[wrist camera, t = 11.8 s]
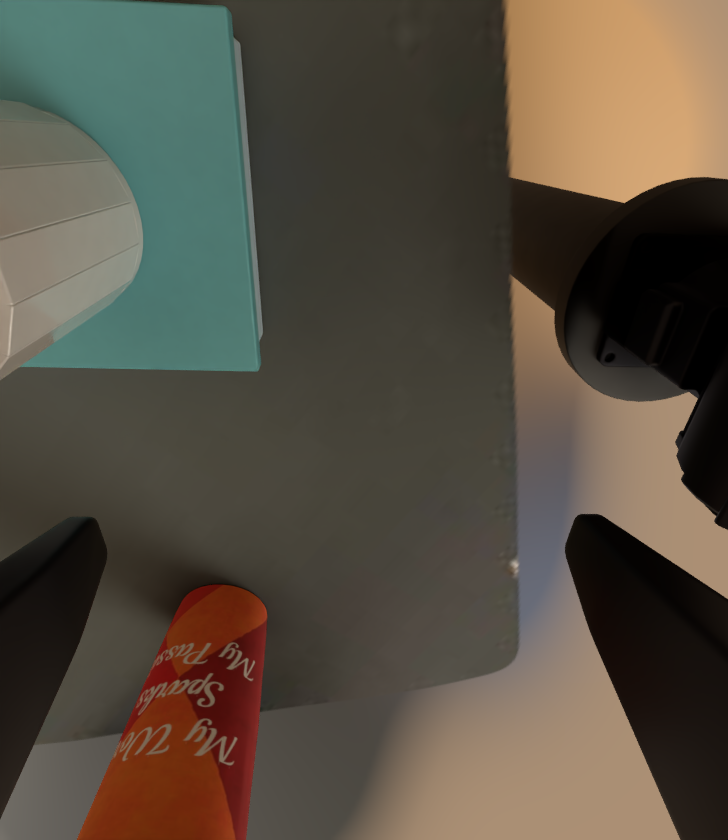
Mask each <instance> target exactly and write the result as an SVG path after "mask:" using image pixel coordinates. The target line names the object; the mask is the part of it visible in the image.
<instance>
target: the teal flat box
mask: <svg viewBox="0 0 728 840" xmlns="http://www.w3.org/2000/svg"><path fill="white" fill-rule="evenodd" d="M0 100H8V101H16V102H21V103H25V104H27V105H31V106H34V107H38V108H41V109H44V110H46V111H49V112H51V113H54V114H56V115H58V116H60V117H61V118H63V119H65V120H67V121H69V122H70V123H72V124H73V125H75V126H76V127H78V128H79V129H81V130H82V131H83V132H85V133H86V134H87V135H88V136H89V137H90V138H92V139H93V140H94V141H95V142H96V143H97V144H98V145H99V146H100V147H101V148H102V149H103V150H104V151H105V152H106V153H107V154H108V156H109V157H110V158H111V159H112V161H113V162H114V163H115V164H116V166H117V167H118V169H119V170H120V172H121V173H122V175H123V176H124V178H125V180H126V181H127V183H128V185H129V187H130V189H131V191H132V193H133V196H134V198H135V201H136V204H137V206H138V210H139V214H140V218H141V222H142V230H143V251H142V258H141V262H140V265H139V269H138V271H137V273H136V275H135V277H134V279H133V281H132V282H131V284H130V285H129V287H128V288H127V289H126V290H125V291H124V292H123V293H122V294H121V295H120V296H118V297H117V298H116V299H115V300H114V302H113V303H111V304H110V305H109V306H107V307H106V308H104V309H103V310H101V311H100V312H98V313H97V314H95V315H94V316H93V317H91V318H90V319H88V320H87V321H85V322H84V323H82V324H81V325H79V326H78V327H77V328H75V329H74V330H72V331H71V332H69V333H68V334H66V335H65V336H63V337H62V338H61V339H59V340H58V341H56V342H55V343H53V344H52V345H50V346H49V347H48V348H46V349H45V350H43V351H42V352H40V353H39V354H37V355H36V356H34V357H33V358H32V359H30V360H29V361H27V362H26V363H24V364H23V365H21V366H20V367H64V368H113V369H163V370H212V371H258V370H259V368H260V365H261V357H260V345H259V341H260V339H261V336H262V334H263V325H262V312H261V300H260V287H259V274H258V262H257V249H256V237H255V224H254V211H253V199H252V186H251V173H250V161H249V148H248V136H247V123H246V110H245V98H244V85H243V72H242V60H241V47H240V43H239V42H238V41H237V40H236V39H235V38H234V37H233V26H232V15H231V12H230V11H229V10H228V9H227V7H225V6H223V5H205V4H187V3H168V2H150V1H132V0H0Z"/></svg>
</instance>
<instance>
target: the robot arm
mask: <svg viewBox="0 0 728 840" xmlns="http://www.w3.org/2000/svg"><path fill="white" fill-rule="evenodd" d="M645 241H648V245H647V247H646V248H645V249H644V250H642V249H641V247H642V244H643V243H644V242H645ZM603 331H604V334H603V337H602V340H601V343H600V346H599V349H598V352H597V361H598V362H599V363H601V364H602V365H603V366H606V367H646V368H654V369H655V370H656V371H658V372H659V373H660V374H662V375H663V376H664V377H666V378H667V379H668V380H670V381H671V382H672V383H674V384H675V385H676V386H678V387H679V388H681V389H683V390H687V391H689V392H690V393H691V394H693V395H694V396H695V397H697V398H698V400H697V402H696V405H695V407H694V409H693V411H692V413H691V415H690V417H689V420H688V422H687V424H686V426H685V428H684V430H683V431H680V433H679V435H678V437H677V439H676V441H675V443H676V445H677V447H678V453H677V458H678V461H679V464H680V467H681V469H682V471H683V472H684V475H683V476H682V478H681V480H682V482H683V484H684V485H685V486H686V487H687V489H688V490H689V491H690V492H691V493H692V494H693V495H694V496H695V497H696V498H697V499H698V500H700V501H701V502H702V503H704V504H705V506H706V507H707V508H708V509H709V510H710V511H711V512H712V513H713V514H714V515H716V518H715V523H716V524H717V525H718V526H721V527H723V528H725V529H727V530H728V236H721V235H692V234H663V233H643V234H640V235H639V236H637V237H636V238H635V239H634V241H633V243H632V245H631V248H630V252H629V255H628V258H627V261H626V264H625V267H624V270H623V274H622V277H621V279H620V280H619V281H618V282H617V285H616V288H615V291H614V295H613V298H612V301H611V304H610V307H609V310H608V314H607V317H606V320H605V323H604V326H603ZM610 353H611V356H610V357H609V358H608V359H605V357H606V355H608V354H610ZM565 554H566V559H567V562H568V565H569V568H570V571H571V574H572V577H573V581H574V584H575V587H576V590H577V593H578V596H579V599H580V602H581V605H582V609H583V612H584V615H585V618H586V621H587V624H588V627H589V630H590V632H591V635H592V637H593V640H594V642H595V645H596V647H597V649H598V652H599V654H600V656H601V658H602V661H603V663H604V665H605V668H606V670H607V672H608V675H609V677H610V679H611V681H612V684H613V686H614V688H615V691H616V693H617V695H618V697H619V700H620V702H621V704H622V707H623V709H624V711H625V713H626V716H627V718H628V720H629V723H630V725H631V727H632V729H633V732H634V734H635V737H636V739H637V741H638V743H639V746H640V748H641V750H642V753H643V755H644V757H645V759H646V762H647V764H648V766H649V769H650V771H651V773H652V776H653V778H654V780H655V782H656V785H657V787H658V789H659V792H660V794H661V796H662V798H663V801H664V803H665V805H666V808H667V810H668V812H669V814H670V817H671V819H672V821H673V824H674V826H675V828H676V830H677V833H678V835H679V837H680V839H681V840H728V599H727V598H725V597H724V596H722V595H721V594H719V593H718V592H716V591H715V590H713V589H712V588H710V587H708V586H707V585H706V584H704V583H703V582H701V581H700V580H698V579H697V578H695V577H694V576H692V575H691V574H689V573H688V572H686V571H685V570H683V569H682V568H680V567H679V566H677V565H675V564H674V563H672V562H671V561H669V560H668V559H666V558H665V557H663V556H662V555H661V554H659V553H657V552H656V551H655V550H653V549H652V548H650V547H648V546H647V545H645V544H644V543H642V542H641V541H639V540H638V539H636V538H635V537H633V536H632V535H630V534H629V533H627V532H626V531H624V530H623V529H621V528H620V527H618V526H617V525H615V524H614V523H612V522H611V521H609V520H608V519H606V518H605V517H603V516H602V515H598V514H580V515H578V516H577V517H576V518H575V520H574V523H573V525H572V528H571V531H570V533H569V536H568V539H567V542H566V545H565ZM106 561H107V548H106V545H105V542H104V539H103V536H102V533H101V530H100V527H99V525H98V522H97V520H96V519H95V518H93V517H70V518H67V519H66V520H64V521H62V522H61V523H59V524H58V525H56V526H55V527H53V528H52V529H50V530H49V531H47V532H46V533H44V534H42V535H41V536H39V537H38V538H36V539H35V540H33V541H32V542H30V543H29V544H27V545H26V546H24V547H22V548H21V549H19V550H18V551H16V552H15V553H13V554H12V555H10V556H9V557H7V558H6V559H4V560H2V561H1V562H0V818H1V816H2V814H3V812H4V809H5V807H6V805H7V803H8V800H9V798H10V796H11V794H12V792H13V789H14V787H15V785H16V782H17V780H18V778H19V776H20V774H21V772H22V769H23V767H24V765H25V763H26V761H27V758H28V756H29V754H30V752H31V749H32V747H33V745H34V743H35V741H36V738H37V736H38V734H39V732H40V730H41V727H42V725H43V723H44V721H45V718H46V716H47V714H48V712H49V710H50V707H51V705H52V703H53V701H54V698H55V696H56V694H57V692H58V690H59V687H60V685H61V683H62V681H63V678H64V676H65V674H66V672H67V670H68V667H69V665H70V663H71V661H72V658H73V656H74V654H75V652H76V649H77V647H78V644H79V642H80V639H81V637H82V634H83V631H84V628H85V625H86V622H87V619H88V616H89V613H90V610H91V607H92V604H93V601H94V598H95V595H96V592H97V589H98V586H99V582H100V579H101V576H102V573H103V570H104V567H105V564H106Z"/></svg>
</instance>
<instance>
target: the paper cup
mask: <svg viewBox="0 0 728 840" xmlns="http://www.w3.org/2000/svg"><path fill="white" fill-rule="evenodd" d="M266 630H267V611H266V608H265V606H264V604H263V603H262V601H261V600H260V599H259V598H258V597H257V596H255V595H254V594H252V593H251V592H249V591H247V590H244V589H242V588H239V587H235V586H230V585H208V586H203V587H200V588H197V589H195V590H193V591H191V592H190V593H189V594H187V595H186V596H185V598H184V599H183V600H182V602H181V604H180V606H179V608H178V610H177V612H176V614H175V616H174V618H173V621H172V623H171V625H170V627H169V629H168V631H167V634H166V636H165V638H164V641H163V643H162V645H161V647H160V650H159V652H158V654H157V656H156V659H155V661H154V663H153V665H152V668H151V670H150V672H149V675H148V677H147V679H146V682H145V684H144V686H143V688H142V691H141V693H140V695H139V698H138V700H137V702H136V704H135V707H134V709H133V711H132V714H131V716H130V718H129V721H128V723H127V725H126V727H125V730H124V732H123V734H122V737H121V739H120V741H119V744H118V746H117V748H116V751H115V753H114V755H113V757H112V760H111V762H110V765H109V767H108V769H107V772H106V774H105V776H104V778H103V781H102V783H101V785H100V787H99V790H98V792H97V795H96V797H95V799H94V802H93V804H92V806H91V808H90V811H89V813H88V815H87V817H86V820H85V822H84V824H83V827H82V829H81V831H80V834H79V836H78V838H77V840H246V833H247V824H248V813H249V804H250V793H251V786H252V777H253V769H254V760H255V751H256V743H257V734H258V726H259V725H258V724H259V713H260V700H261V687H262V675H263V664H264V654H265V642H266Z"/></svg>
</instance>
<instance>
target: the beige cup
mask: <svg viewBox="0 0 728 840" xmlns="http://www.w3.org/2000/svg"><path fill="white" fill-rule="evenodd" d="M142 251H143V230H142V222H141V218H140V214H139V210H138V206H137V204H136V201H135V198H134V196H133V193H132V191H131V189H130V187H129V185H128V183H127V181H126V180H125V178H124V176H123V175H122V173H121V172H120V170H119V169H118V167H117V166H116V164H115V163H114V162H113V161H112V159H111V158H110V157H109V156H108V154H107V153H106V152H105V151H104V150H103V149H102V148H101V147H100V146H99V145H98V144H97V143H96V142H95V141H94V140H93V139H92V138H90V137H89V136H88V135H87V134H86V133H85V132H83V131H82V130H81V129H79V128H78V127H76V126H75V125H73V124H72V123H70V122H69V121H67V120H65V119H63V118H61V117H60V116H58V115H56V114H54V113H51V112H49V111H46V110H44V109H41V108H38V107H34V106H31V105H27V104H25V103H21V102H16V101H8V100H0V380H1V379H2V378H4V377H5V376H7V375H8V374H10V373H11V372H13V371H14V370H16V369H17V368H18V367H20V366H21V365H23V364H24V363H26V362H27V361H29V360H30V359H32V358H33V357H34V356H36V355H37V354H39V353H40V352H42V351H43V350H45V349H46V348H48V347H49V346H50V345H52V344H53V343H55V342H56V341H58V340H59V339H61V338H62V337H63V336H65V335H66V334H68V333H69V332H71V331H72V330H74V329H75V328H77V327H78V326H79V325H81V324H82V323H84V322H85V321H87V320H88V319H90V318H91V317H93V316H94V315H95V314H97V313H98V312H100V311H101V310H103V309H104V308H106V307H107V306H109V305H110V304H111V303H113V302H114V300H115V299H116V298H117V297H118V296H120V295H121V294H122V293H123V292H124V291H125V290H126V289H127V288H128V287H129V285H130V284H131V282H132V281H133V279H134V277H135V275H136V273H137V271H138V269H139V265H140V262H141V258H142Z"/></svg>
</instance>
